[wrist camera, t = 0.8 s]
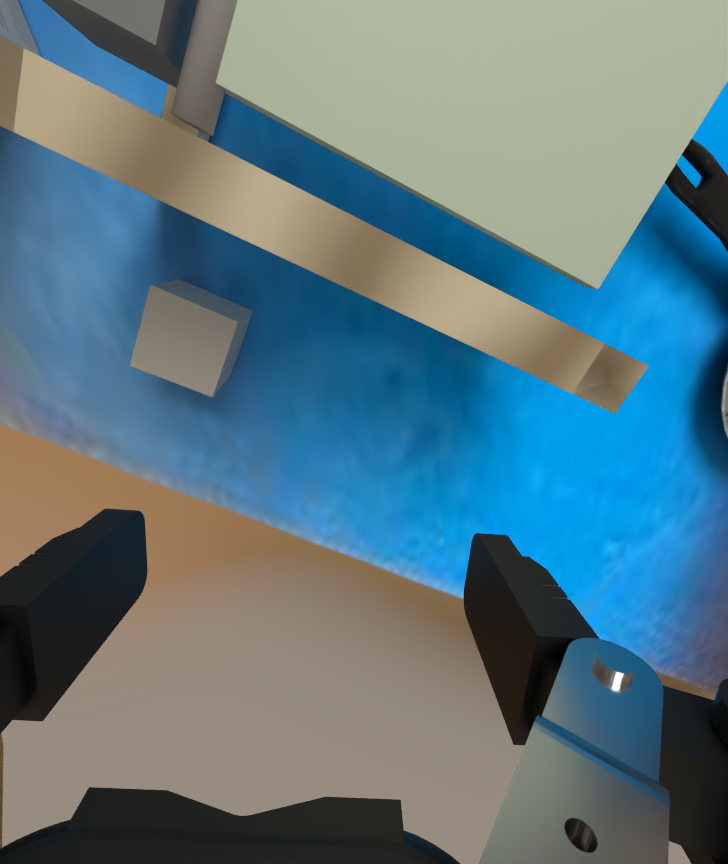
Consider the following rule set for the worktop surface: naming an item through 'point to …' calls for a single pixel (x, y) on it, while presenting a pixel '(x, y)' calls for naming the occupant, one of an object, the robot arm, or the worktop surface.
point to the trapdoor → (456, 97)
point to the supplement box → (16, 26)
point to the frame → (297, 225)
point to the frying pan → (706, 212)
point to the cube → (189, 336)
